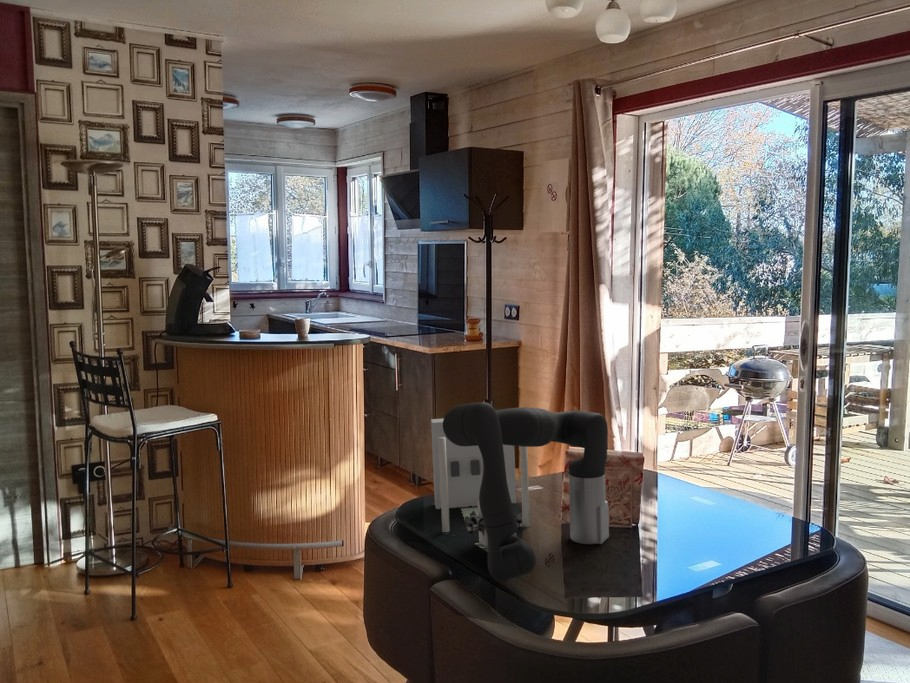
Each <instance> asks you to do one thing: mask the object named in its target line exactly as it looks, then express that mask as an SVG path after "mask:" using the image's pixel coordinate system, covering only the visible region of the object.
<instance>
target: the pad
mask: <svg viewBox="0 0 910 683" xmlns="http://www.w3.org/2000/svg"><path fill="white" fill-rule="evenodd" d="M460 510H461V511H462V512H461V515H462V514H463V515H462V517H466V516H468V517H469V518H470V513H472V511H475V513H476V516H478V506H475V507H462V508H460ZM463 521H465V518H463Z"/></svg>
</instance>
